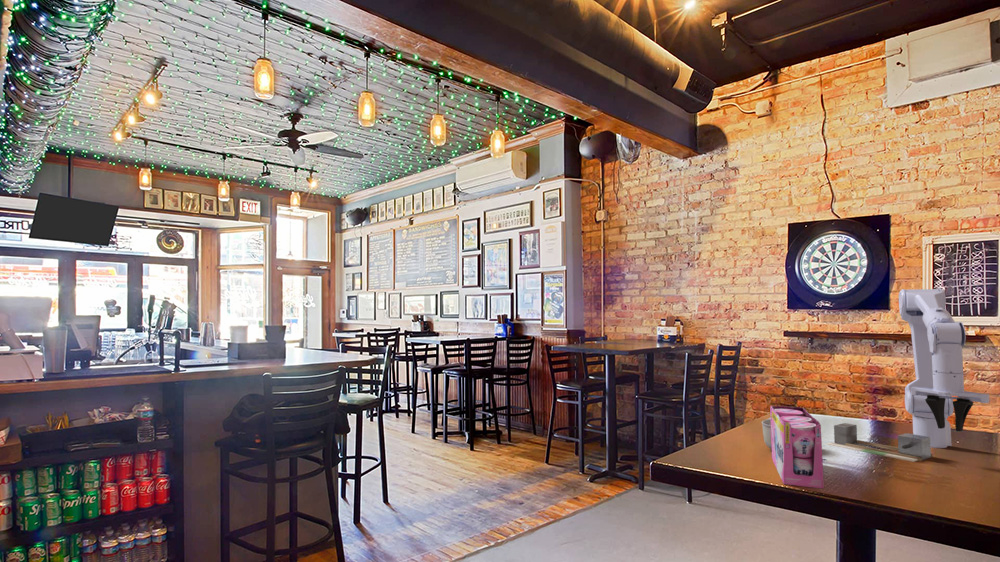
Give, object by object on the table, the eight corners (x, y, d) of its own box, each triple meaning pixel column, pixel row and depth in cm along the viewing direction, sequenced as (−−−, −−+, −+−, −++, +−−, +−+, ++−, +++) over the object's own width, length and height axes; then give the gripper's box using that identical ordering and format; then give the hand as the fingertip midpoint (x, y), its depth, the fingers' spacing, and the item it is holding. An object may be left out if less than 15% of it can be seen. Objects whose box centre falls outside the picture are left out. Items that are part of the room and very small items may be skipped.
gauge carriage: (907, 452, 138) (906, 433, 138) (930, 457, 134) (930, 437, 134) (892, 457, 133) (891, 437, 134) (916, 462, 129) (915, 441, 129)
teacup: (814, 458, 138) (813, 426, 138) (768, 455, 140) (767, 424, 140) (795, 444, 151) (795, 416, 152) (754, 443, 153) (753, 414, 154)
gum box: (826, 491, 112) (824, 426, 113) (784, 487, 115) (782, 423, 116) (805, 461, 135) (804, 407, 136) (770, 458, 138) (769, 405, 138)
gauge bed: (845, 442, 154) (844, 420, 154) (939, 461, 135) (938, 436, 135) (823, 448, 147) (822, 425, 147) (918, 468, 129) (917, 442, 129)
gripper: (905, 370, 133) (907, 425, 132) (980, 376, 121) (983, 437, 120) (917, 368, 137) (919, 422, 136) (991, 374, 125) (994, 433, 124)
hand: (950, 429), depth 128 cm, fingers open, 3 cm apart
